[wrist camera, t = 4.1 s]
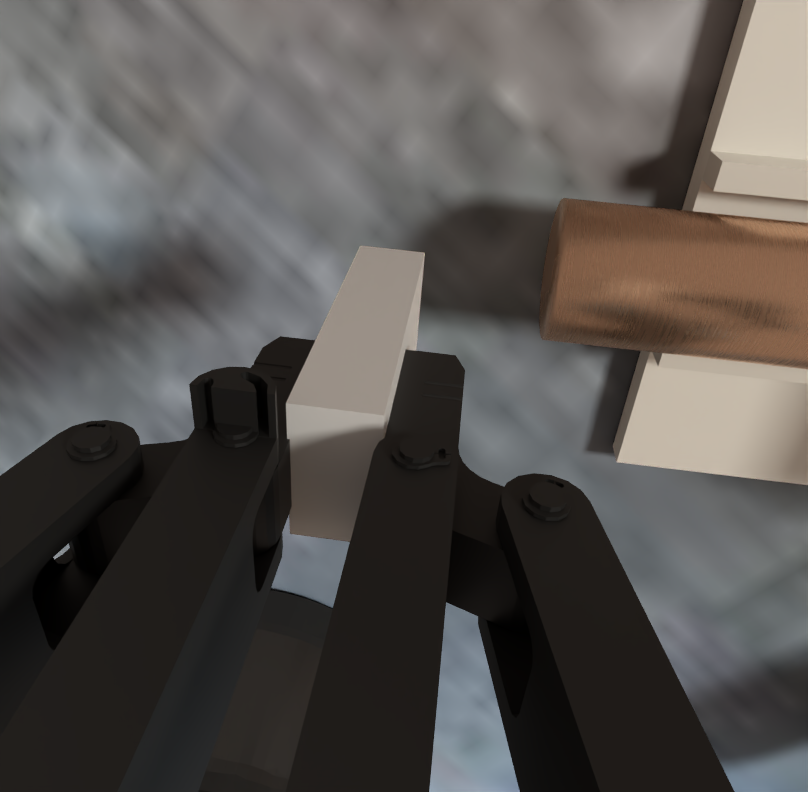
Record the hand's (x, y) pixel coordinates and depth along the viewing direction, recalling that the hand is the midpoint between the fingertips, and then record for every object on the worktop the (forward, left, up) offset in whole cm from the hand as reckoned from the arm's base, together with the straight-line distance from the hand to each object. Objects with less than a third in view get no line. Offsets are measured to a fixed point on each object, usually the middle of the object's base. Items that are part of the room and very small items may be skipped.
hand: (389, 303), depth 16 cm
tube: (+13, 0, -6) cm, 15 cm away
